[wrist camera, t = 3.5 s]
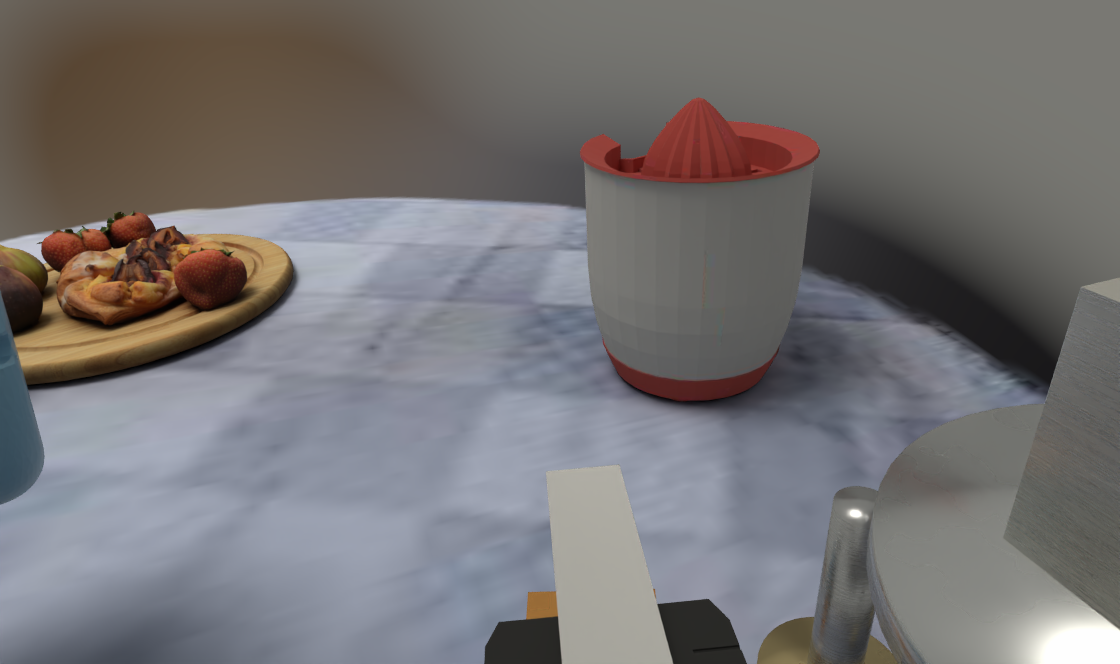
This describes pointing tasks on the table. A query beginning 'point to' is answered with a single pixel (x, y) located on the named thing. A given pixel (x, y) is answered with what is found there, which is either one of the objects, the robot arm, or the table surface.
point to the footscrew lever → (842, 605)
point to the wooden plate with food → (132, 295)
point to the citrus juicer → (697, 251)
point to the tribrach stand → (1011, 520)
